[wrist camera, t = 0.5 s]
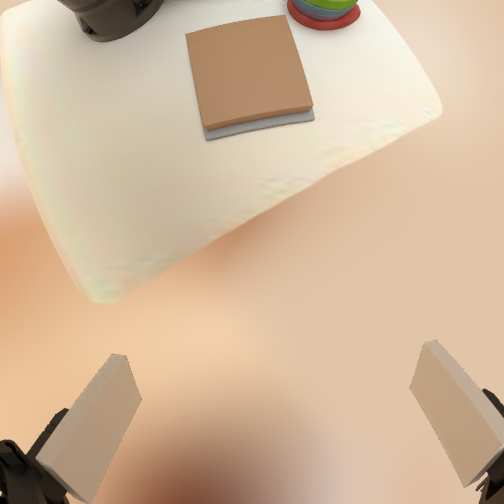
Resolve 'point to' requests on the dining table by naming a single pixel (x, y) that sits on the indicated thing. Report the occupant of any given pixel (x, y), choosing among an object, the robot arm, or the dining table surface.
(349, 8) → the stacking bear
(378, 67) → the dining table surface
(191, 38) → the board
